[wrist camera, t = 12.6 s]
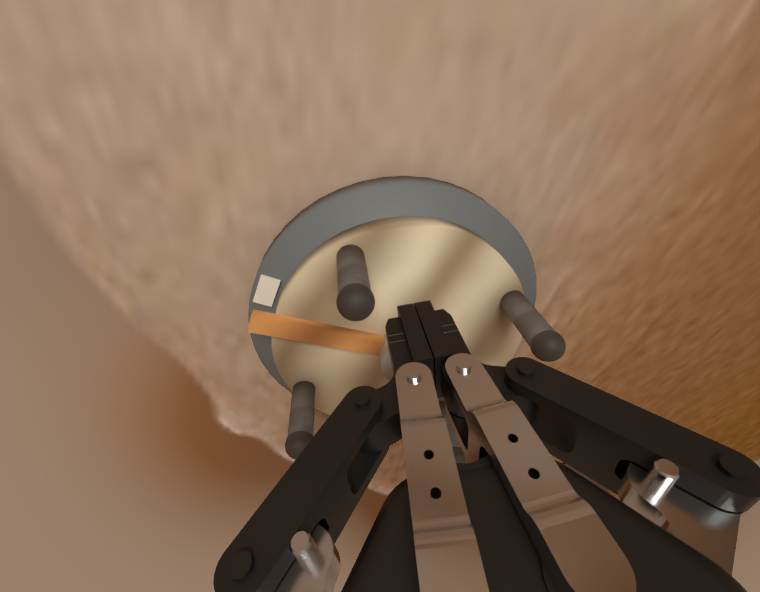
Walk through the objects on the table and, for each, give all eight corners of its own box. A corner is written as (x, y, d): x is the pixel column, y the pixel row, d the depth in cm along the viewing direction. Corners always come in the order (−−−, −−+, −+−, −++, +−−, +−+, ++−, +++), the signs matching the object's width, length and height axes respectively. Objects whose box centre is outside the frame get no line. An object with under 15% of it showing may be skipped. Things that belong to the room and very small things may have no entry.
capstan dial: (563, 258, 26) (642, 323, 20) (448, 417, 36) (475, 495, 29) (284, 166, 20) (262, 215, 13) (238, 389, 30) (212, 481, 23)
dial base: (439, 416, 40) (444, 433, 38) (226, 375, 32) (219, 394, 30) (581, 244, 28) (598, 256, 26) (306, 112, 20) (304, 117, 18)
